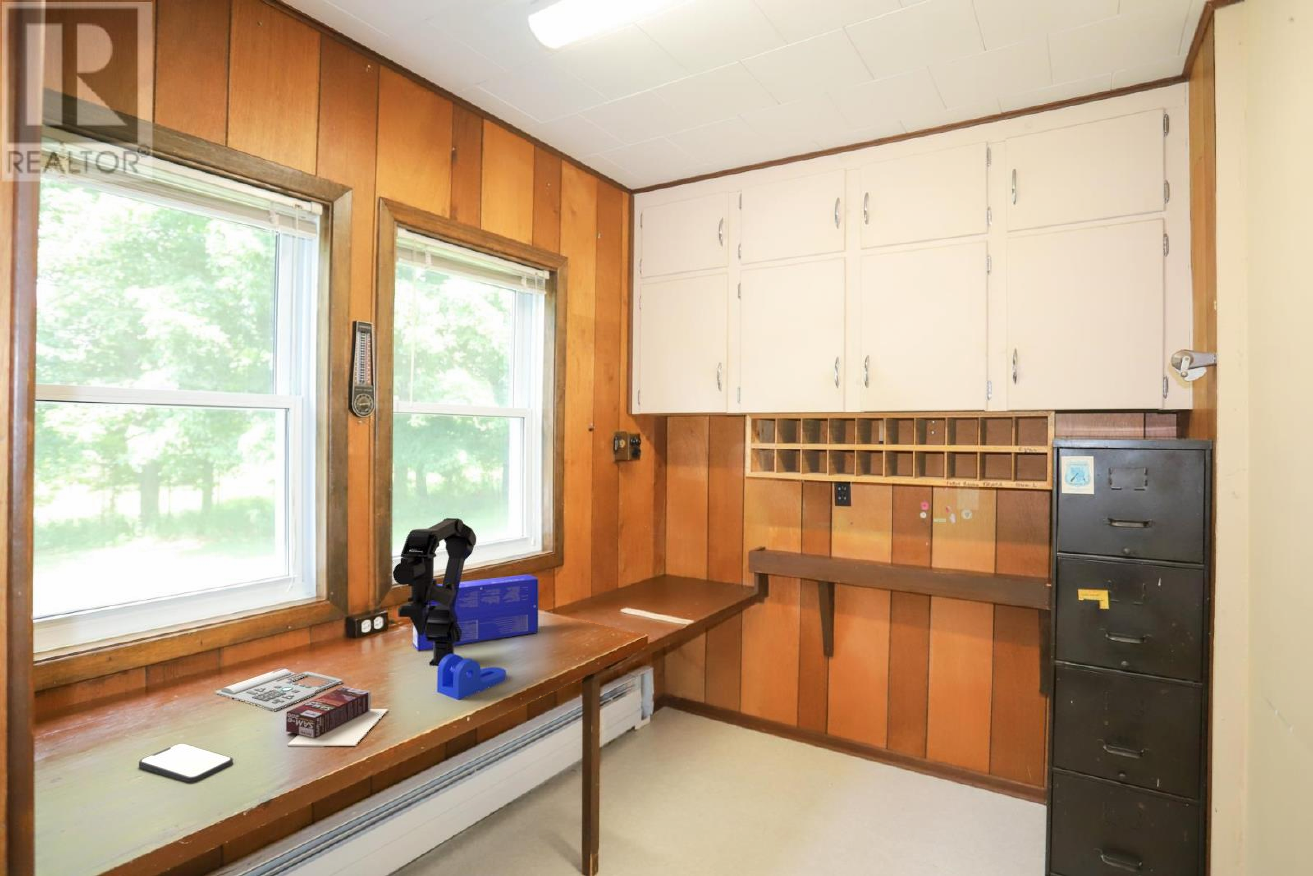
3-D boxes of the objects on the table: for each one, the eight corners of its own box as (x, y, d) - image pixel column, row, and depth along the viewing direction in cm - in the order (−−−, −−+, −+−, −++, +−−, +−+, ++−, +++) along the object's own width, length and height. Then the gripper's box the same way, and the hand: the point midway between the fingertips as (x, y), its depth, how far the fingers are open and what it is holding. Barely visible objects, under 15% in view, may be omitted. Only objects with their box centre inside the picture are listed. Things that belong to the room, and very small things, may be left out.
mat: (328, 710, 155) (328, 708, 155) (387, 710, 156) (387, 709, 156) (287, 746, 137) (287, 744, 137) (354, 746, 138) (355, 744, 138)
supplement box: (371, 690, 155) (315, 717, 140) (371, 710, 155) (315, 740, 140) (343, 684, 158) (285, 711, 143) (343, 704, 158) (285, 733, 143)
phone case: (236, 766, 130) (181, 749, 136) (236, 757, 130) (181, 741, 136) (191, 788, 122) (134, 769, 128) (191, 779, 122) (135, 761, 128)
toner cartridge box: (529, 627, 225) (530, 573, 225) (538, 634, 218) (539, 578, 218) (411, 644, 205) (412, 585, 205) (417, 652, 198) (418, 591, 198)
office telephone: (212, 686, 164) (287, 661, 182) (212, 697, 164) (287, 671, 182) (274, 703, 154) (346, 675, 172) (274, 714, 154) (346, 685, 172)
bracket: (458, 700, 163) (458, 664, 163) (437, 692, 168) (437, 657, 168) (512, 679, 178) (513, 646, 178) (491, 672, 182) (492, 640, 182)
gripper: (441, 585, 167) (440, 646, 167) (462, 570, 185) (461, 625, 185) (397, 584, 166) (396, 646, 166) (422, 569, 185) (421, 624, 185)
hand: (421, 634), depth 176 cm, fingers closed
